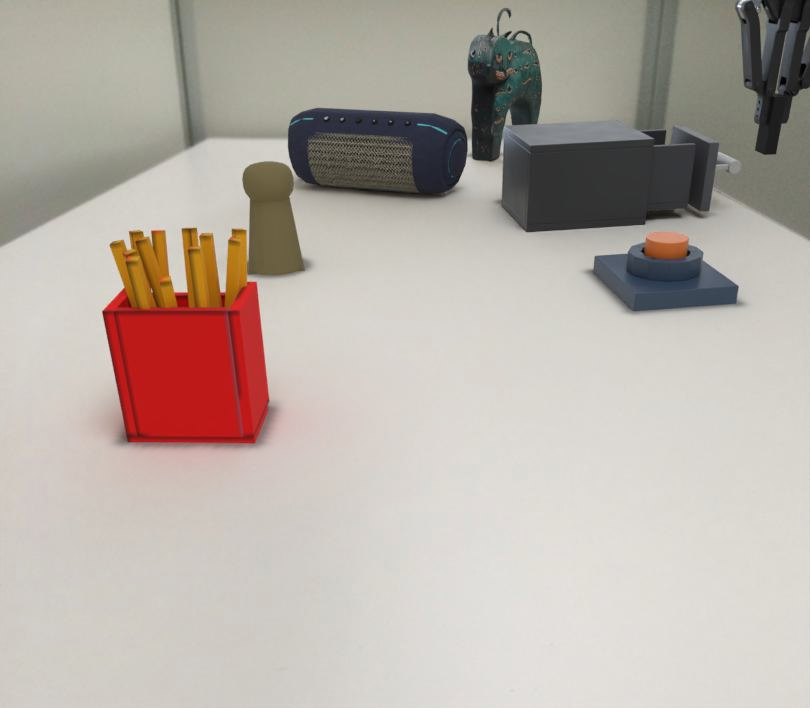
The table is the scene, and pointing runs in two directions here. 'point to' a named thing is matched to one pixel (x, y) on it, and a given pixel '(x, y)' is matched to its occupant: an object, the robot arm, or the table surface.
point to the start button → (666, 245)
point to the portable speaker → (377, 150)
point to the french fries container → (187, 343)
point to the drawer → (685, 169)
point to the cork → (271, 220)
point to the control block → (664, 280)
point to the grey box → (576, 175)
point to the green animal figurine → (501, 87)
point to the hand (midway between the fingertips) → (765, 152)
